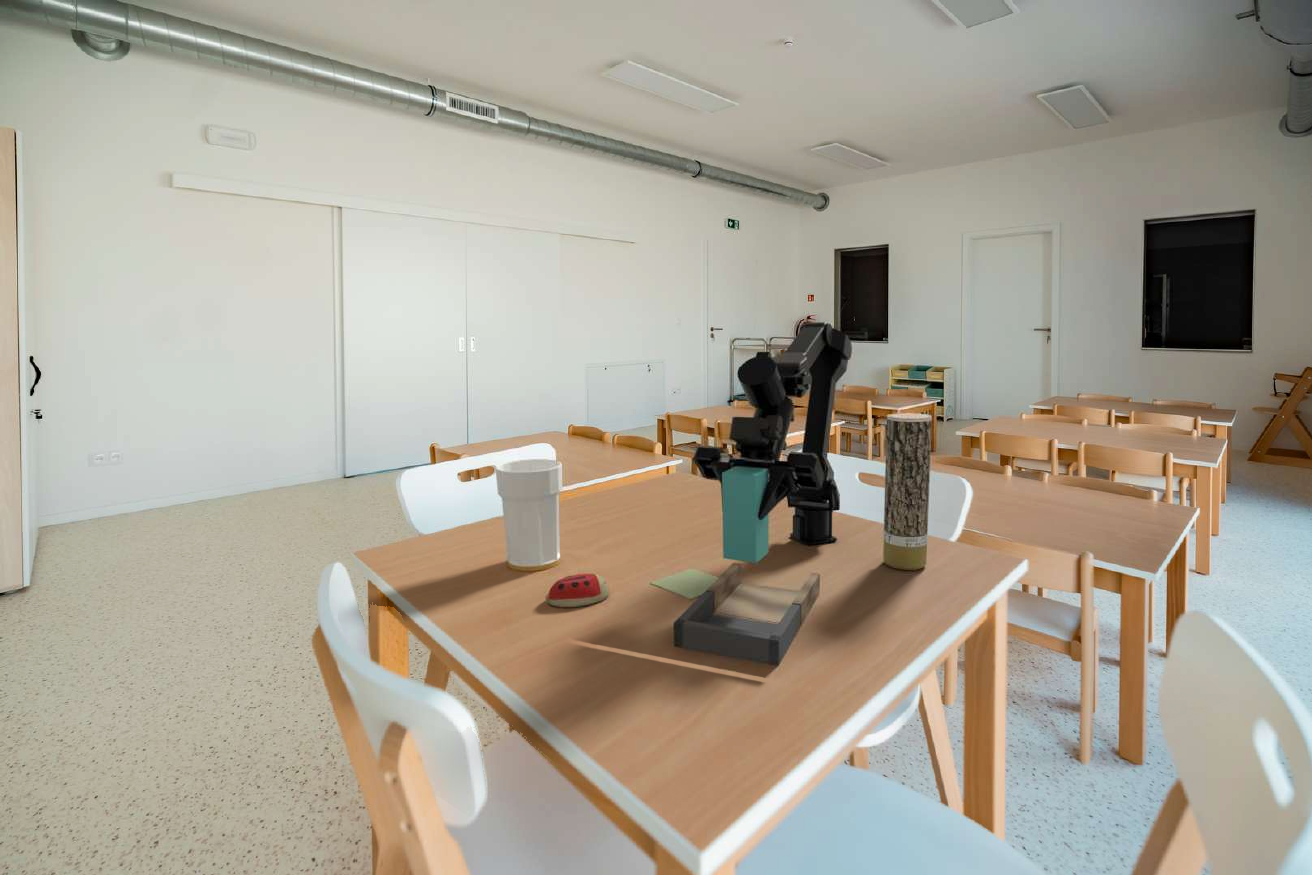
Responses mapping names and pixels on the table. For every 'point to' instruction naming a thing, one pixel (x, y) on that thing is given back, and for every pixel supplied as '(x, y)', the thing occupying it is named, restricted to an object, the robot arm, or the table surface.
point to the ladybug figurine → (578, 591)
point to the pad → (687, 583)
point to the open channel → (760, 597)
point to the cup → (531, 512)
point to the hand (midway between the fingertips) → (741, 516)
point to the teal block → (744, 514)
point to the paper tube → (907, 490)
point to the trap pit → (735, 633)
